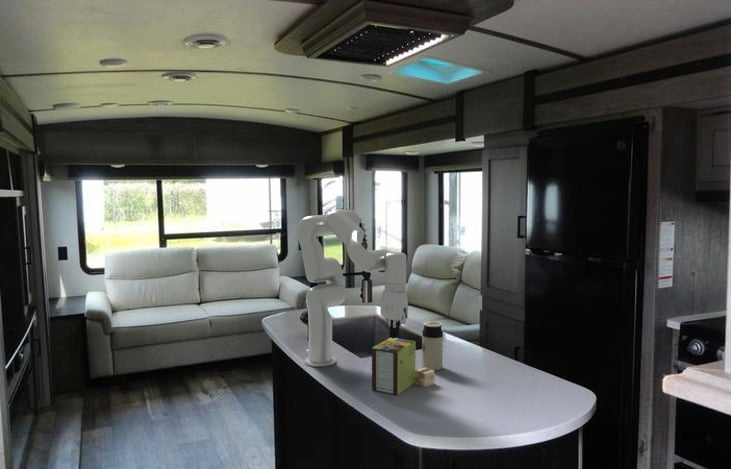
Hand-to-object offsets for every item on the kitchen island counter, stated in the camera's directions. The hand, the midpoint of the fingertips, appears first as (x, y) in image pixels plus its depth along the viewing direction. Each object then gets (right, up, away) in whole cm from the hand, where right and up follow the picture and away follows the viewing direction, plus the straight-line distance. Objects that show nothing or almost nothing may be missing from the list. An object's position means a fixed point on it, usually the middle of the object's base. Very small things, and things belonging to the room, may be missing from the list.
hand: (394, 337), depth 197 cm
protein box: (0, -18, +1) cm, 18 cm away
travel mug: (+16, -16, +21) cm, 31 cm away
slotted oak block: (+11, -18, +4) cm, 21 cm away
